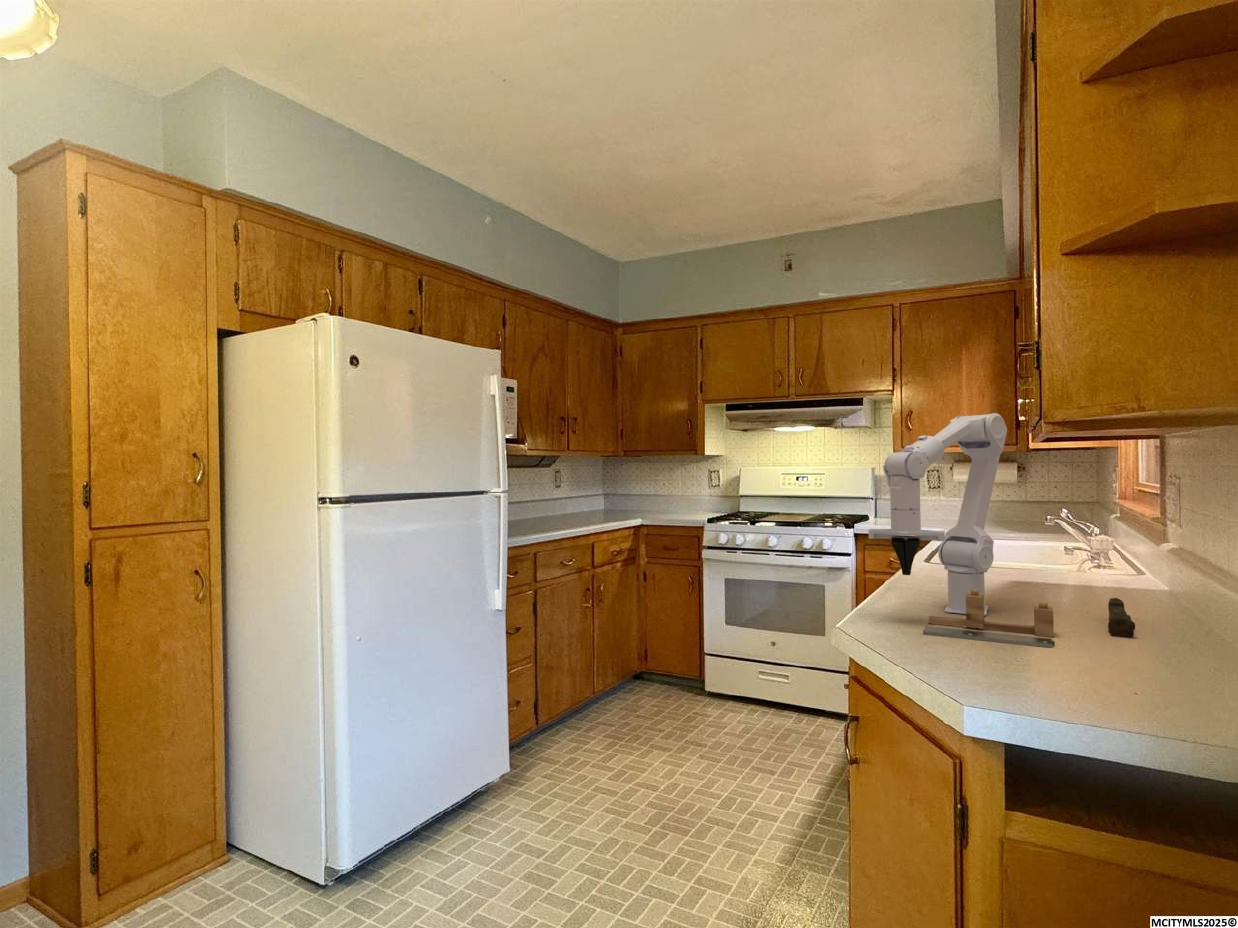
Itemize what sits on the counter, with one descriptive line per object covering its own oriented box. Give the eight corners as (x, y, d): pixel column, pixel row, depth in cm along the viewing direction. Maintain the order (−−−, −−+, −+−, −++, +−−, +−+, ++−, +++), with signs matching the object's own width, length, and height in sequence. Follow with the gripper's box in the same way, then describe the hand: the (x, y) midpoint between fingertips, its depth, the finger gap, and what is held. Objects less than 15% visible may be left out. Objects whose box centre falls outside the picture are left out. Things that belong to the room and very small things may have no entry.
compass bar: (930, 620, 138) (929, 592, 138) (1052, 632, 127) (1052, 601, 127) (928, 624, 135) (927, 595, 135) (1053, 637, 124) (1053, 605, 124)
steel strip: (925, 628, 132) (925, 625, 132) (1054, 642, 121) (1054, 638, 121) (923, 634, 128) (923, 630, 128) (1055, 648, 117) (1055, 644, 117)
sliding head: (967, 622, 135) (966, 587, 135) (984, 624, 133) (983, 588, 133) (966, 627, 131) (965, 591, 131) (983, 628, 130) (982, 592, 130)
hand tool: (1135, 640, 122) (1135, 615, 122) (1108, 637, 124) (1108, 612, 124) (1131, 620, 137) (1131, 597, 137) (1107, 617, 140) (1107, 595, 140)
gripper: (865, 509, 138) (866, 574, 138) (941, 511, 131) (943, 579, 131) (871, 507, 144) (872, 569, 144) (945, 508, 137) (946, 574, 137)
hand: (906, 574), depth 138 cm, fingers closed
